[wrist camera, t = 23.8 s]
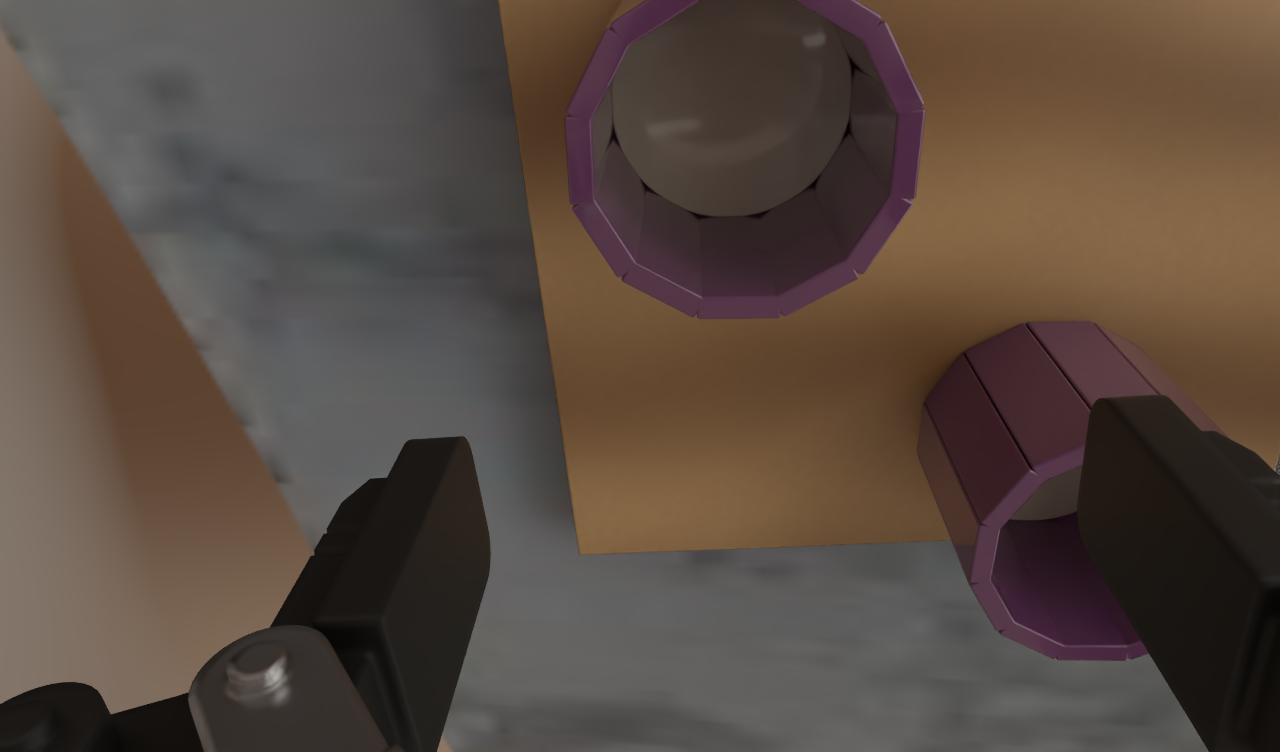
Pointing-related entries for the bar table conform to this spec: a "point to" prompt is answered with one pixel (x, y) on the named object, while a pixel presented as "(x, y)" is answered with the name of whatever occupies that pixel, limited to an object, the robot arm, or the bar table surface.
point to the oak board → (926, 268)
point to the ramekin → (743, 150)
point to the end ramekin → (1034, 478)
